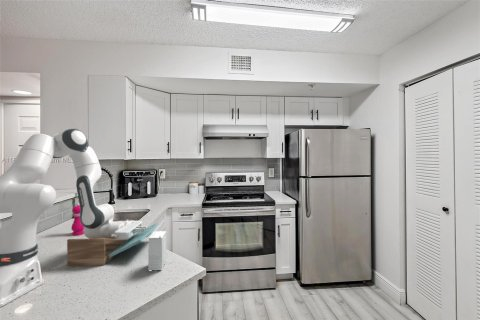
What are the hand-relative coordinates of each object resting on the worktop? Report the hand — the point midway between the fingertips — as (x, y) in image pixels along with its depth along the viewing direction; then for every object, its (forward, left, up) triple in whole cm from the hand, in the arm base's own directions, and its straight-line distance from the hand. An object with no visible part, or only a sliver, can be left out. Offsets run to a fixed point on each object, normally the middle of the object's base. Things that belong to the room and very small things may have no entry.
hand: (145, 229), depth 119 cm
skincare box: (-20, -12, -11) cm, 26 cm away
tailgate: (0, +12, -8) cm, 14 cm away
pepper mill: (+30, +53, -11) cm, 62 cm away
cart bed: (0, +21, -11) cm, 24 cm away
